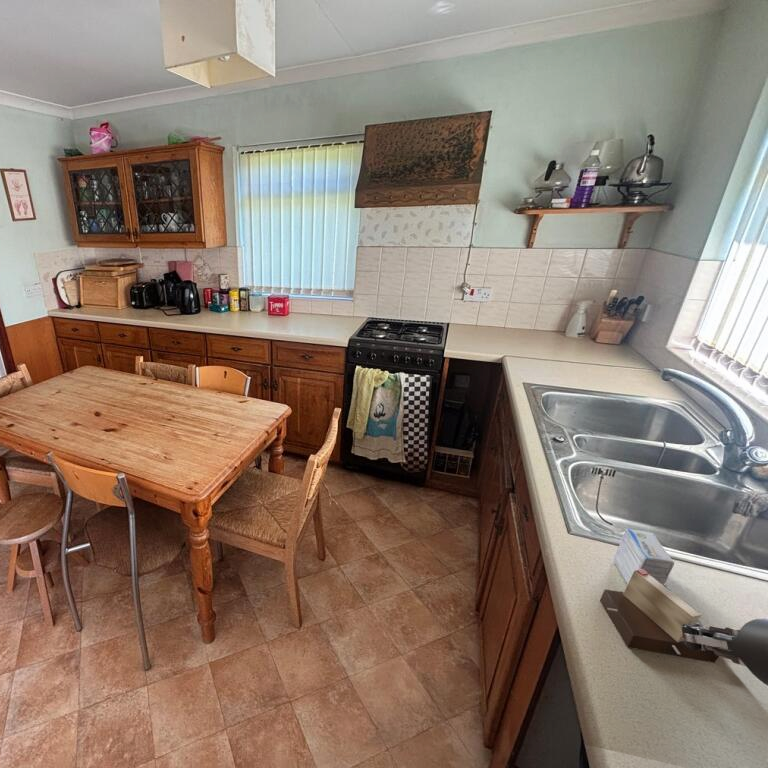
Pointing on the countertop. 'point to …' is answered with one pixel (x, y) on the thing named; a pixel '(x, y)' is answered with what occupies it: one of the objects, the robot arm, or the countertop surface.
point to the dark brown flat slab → (646, 629)
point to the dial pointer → (660, 604)
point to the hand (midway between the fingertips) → (689, 633)
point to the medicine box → (642, 556)
